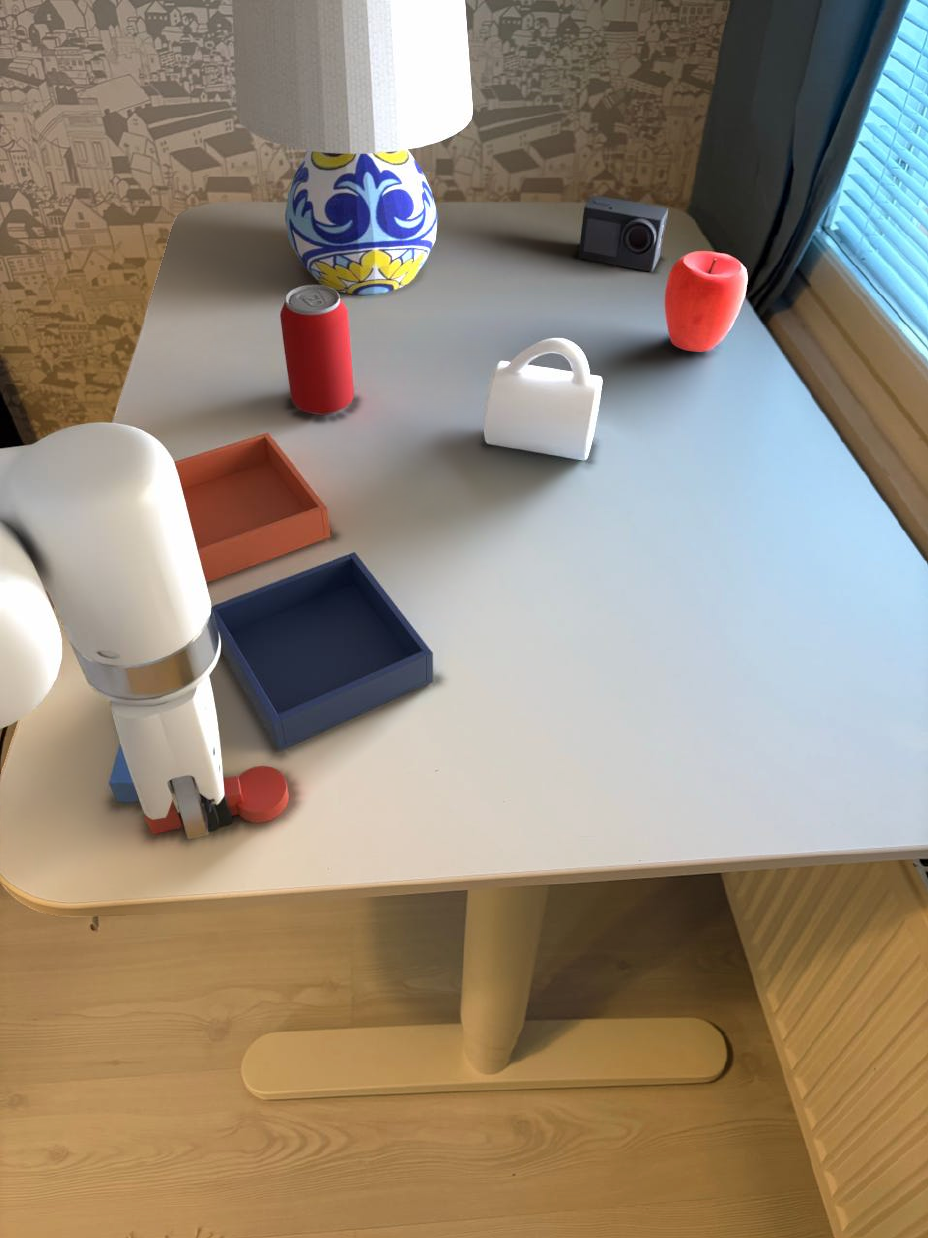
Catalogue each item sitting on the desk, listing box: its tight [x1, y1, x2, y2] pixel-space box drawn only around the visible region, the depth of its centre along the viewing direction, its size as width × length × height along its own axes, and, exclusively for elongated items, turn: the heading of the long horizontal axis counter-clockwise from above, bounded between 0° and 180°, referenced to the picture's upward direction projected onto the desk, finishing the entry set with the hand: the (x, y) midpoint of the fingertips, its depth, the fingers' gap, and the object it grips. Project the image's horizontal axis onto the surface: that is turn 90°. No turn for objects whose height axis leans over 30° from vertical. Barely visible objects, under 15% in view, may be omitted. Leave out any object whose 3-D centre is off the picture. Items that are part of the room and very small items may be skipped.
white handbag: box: [483, 337, 603, 461], centre depth 90 cm, size 8×10×12 cm
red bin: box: [174, 431, 331, 584], centre depth 84 cm, size 13×13×4 cm
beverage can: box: [279, 284, 355, 416], centre depth 94 cm, size 7×7×12 cm
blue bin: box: [212, 551, 434, 752], centre depth 72 cm, size 13×13×4 cm
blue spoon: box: [108, 743, 140, 803], centre depth 67 cm, size 10×4×2 cm, turn 2°
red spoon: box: [143, 765, 290, 835], centre depth 63 cm, size 10×4×2 cm, turn 107°
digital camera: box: [578, 194, 669, 273], centre depth 121 cm, size 10×5×7 cm, turn 70°
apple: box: [664, 250, 749, 353], centre depth 104 cm, size 9×9×11 cm
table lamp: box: [231, 0, 474, 296], centre depth 105 cm, size 27×27×40 cm
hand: (207, 811), depth 64 cm, fingers closed on red spoon, 1 cm apart
